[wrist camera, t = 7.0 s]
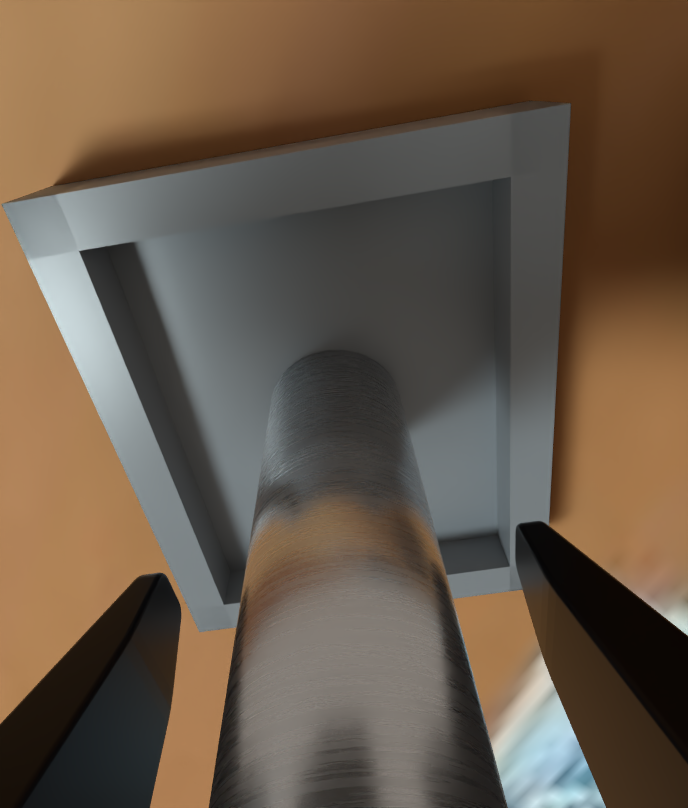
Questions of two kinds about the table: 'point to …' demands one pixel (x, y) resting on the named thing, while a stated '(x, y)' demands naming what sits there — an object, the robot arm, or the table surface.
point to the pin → (348, 617)
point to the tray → (321, 321)
